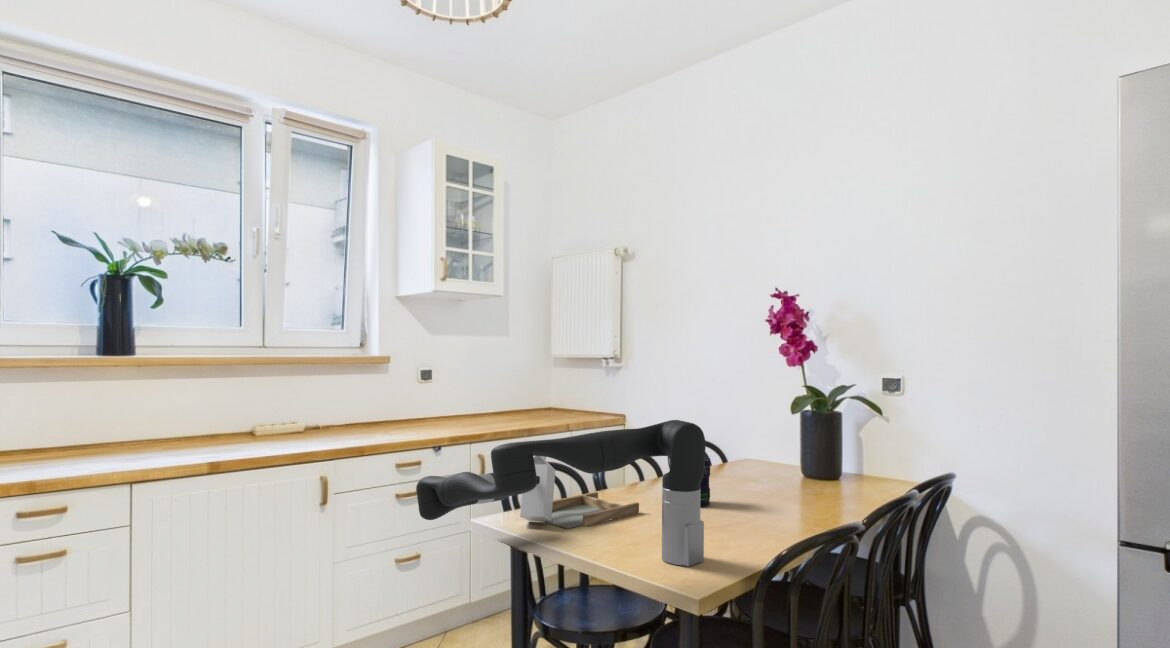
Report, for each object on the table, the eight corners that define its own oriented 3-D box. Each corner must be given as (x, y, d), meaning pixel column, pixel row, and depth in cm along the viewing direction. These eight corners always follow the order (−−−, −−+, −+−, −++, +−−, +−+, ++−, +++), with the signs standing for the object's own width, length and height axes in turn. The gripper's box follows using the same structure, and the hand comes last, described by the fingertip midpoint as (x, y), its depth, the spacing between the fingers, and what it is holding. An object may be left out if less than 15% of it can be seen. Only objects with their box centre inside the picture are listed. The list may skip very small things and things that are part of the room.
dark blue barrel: (677, 506, 201) (678, 459, 201) (681, 499, 210) (682, 455, 211) (708, 508, 198) (709, 461, 198) (711, 501, 207) (711, 456, 208)
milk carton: (551, 521, 178) (556, 456, 187) (543, 517, 172) (549, 450, 181) (528, 521, 180) (534, 457, 189) (519, 517, 174) (526, 450, 183)
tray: (638, 512, 192) (639, 503, 192) (569, 530, 172) (570, 519, 172) (595, 501, 206) (595, 491, 206) (527, 515, 186) (527, 505, 186)
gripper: (502, 477, 160) (553, 469, 172) (474, 470, 170) (524, 462, 182) (501, 507, 160) (552, 496, 172) (473, 497, 170) (523, 488, 182)
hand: (538, 479), depth 177 cm, fingers closed
